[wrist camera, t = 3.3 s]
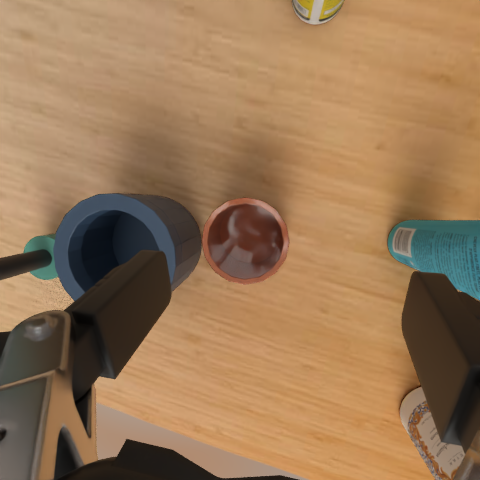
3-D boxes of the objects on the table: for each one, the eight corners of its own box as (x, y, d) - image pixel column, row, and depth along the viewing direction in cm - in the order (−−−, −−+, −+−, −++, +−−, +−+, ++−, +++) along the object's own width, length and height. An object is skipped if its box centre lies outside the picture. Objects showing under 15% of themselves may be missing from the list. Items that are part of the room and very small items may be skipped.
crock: (204, 241, 36) (186, 252, 28) (241, 185, 34) (232, 180, 26) (259, 278, 36) (256, 300, 28) (297, 223, 34) (306, 230, 26)
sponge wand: (42, 257, 38) (-181, 311, 19) (60, 224, 37) (-154, 247, 18) (75, 279, 38) (-117, 355, 19) (93, 246, 37) (-87, 293, 18)
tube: (441, 264, 33) (668, 348, 14) (397, 278, 34) (558, 376, 15) (421, 201, 33) (631, 200, 14) (377, 216, 33) (518, 237, 14)
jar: (95, 254, 37) (32, 273, 27) (140, 177, 35) (90, 168, 26) (170, 305, 37) (134, 343, 27) (219, 230, 35) (199, 241, 25)
